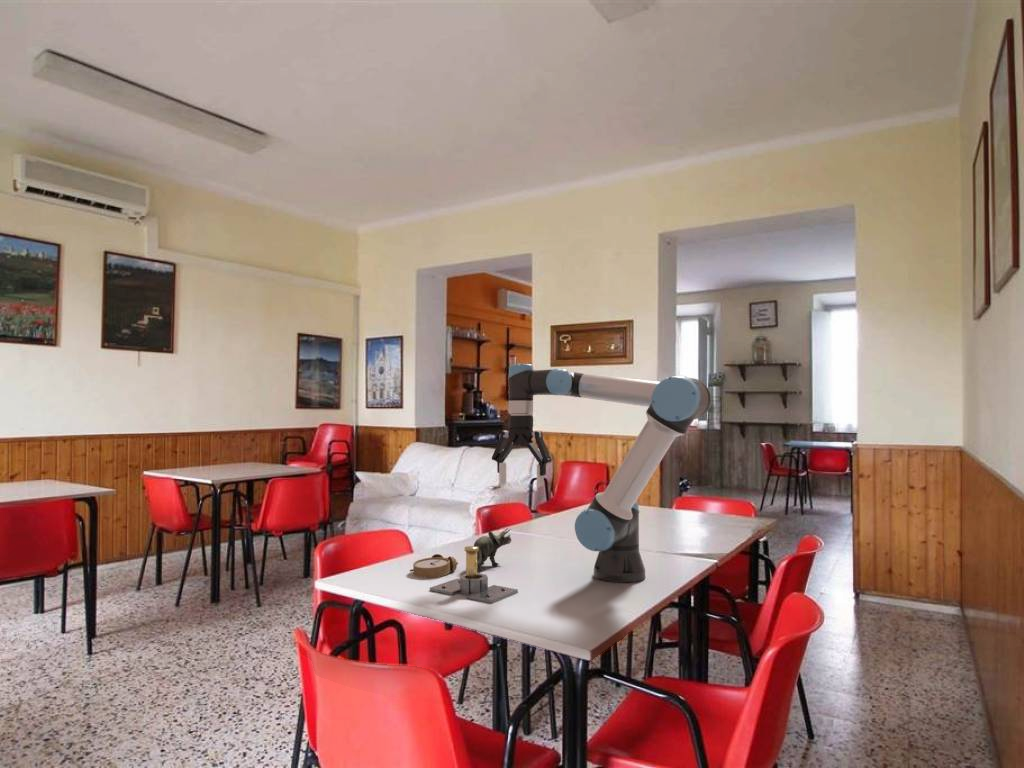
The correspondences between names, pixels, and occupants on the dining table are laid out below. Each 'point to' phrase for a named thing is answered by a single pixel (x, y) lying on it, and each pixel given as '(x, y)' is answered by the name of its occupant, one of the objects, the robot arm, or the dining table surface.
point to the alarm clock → (434, 566)
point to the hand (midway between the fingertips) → (521, 485)
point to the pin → (471, 562)
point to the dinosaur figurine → (490, 547)
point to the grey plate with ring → (474, 589)
